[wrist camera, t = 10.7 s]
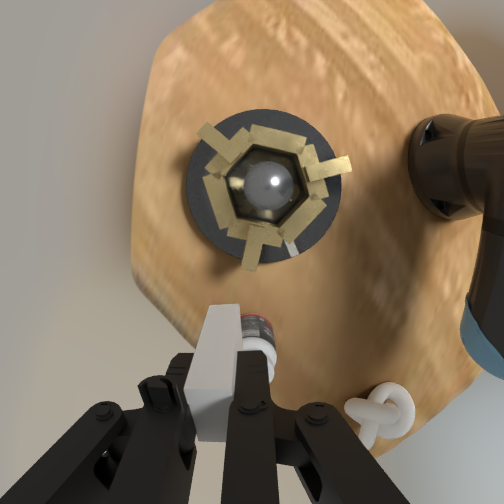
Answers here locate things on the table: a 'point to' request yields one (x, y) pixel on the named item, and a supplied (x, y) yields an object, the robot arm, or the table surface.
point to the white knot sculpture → (382, 413)
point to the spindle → (268, 185)
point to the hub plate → (235, 183)
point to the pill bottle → (259, 338)
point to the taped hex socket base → (297, 216)
